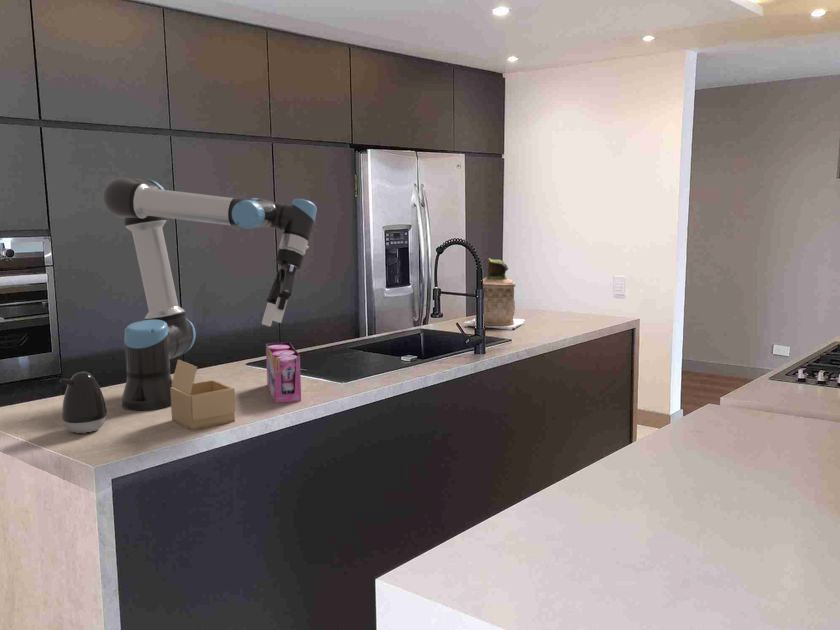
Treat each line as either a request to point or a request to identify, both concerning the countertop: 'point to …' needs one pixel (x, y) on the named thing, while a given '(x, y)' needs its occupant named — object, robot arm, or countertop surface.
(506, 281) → the cookie jar
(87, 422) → the pump dispenser
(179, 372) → the front flap
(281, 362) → the gum box
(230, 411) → the carton
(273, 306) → the robot arm
